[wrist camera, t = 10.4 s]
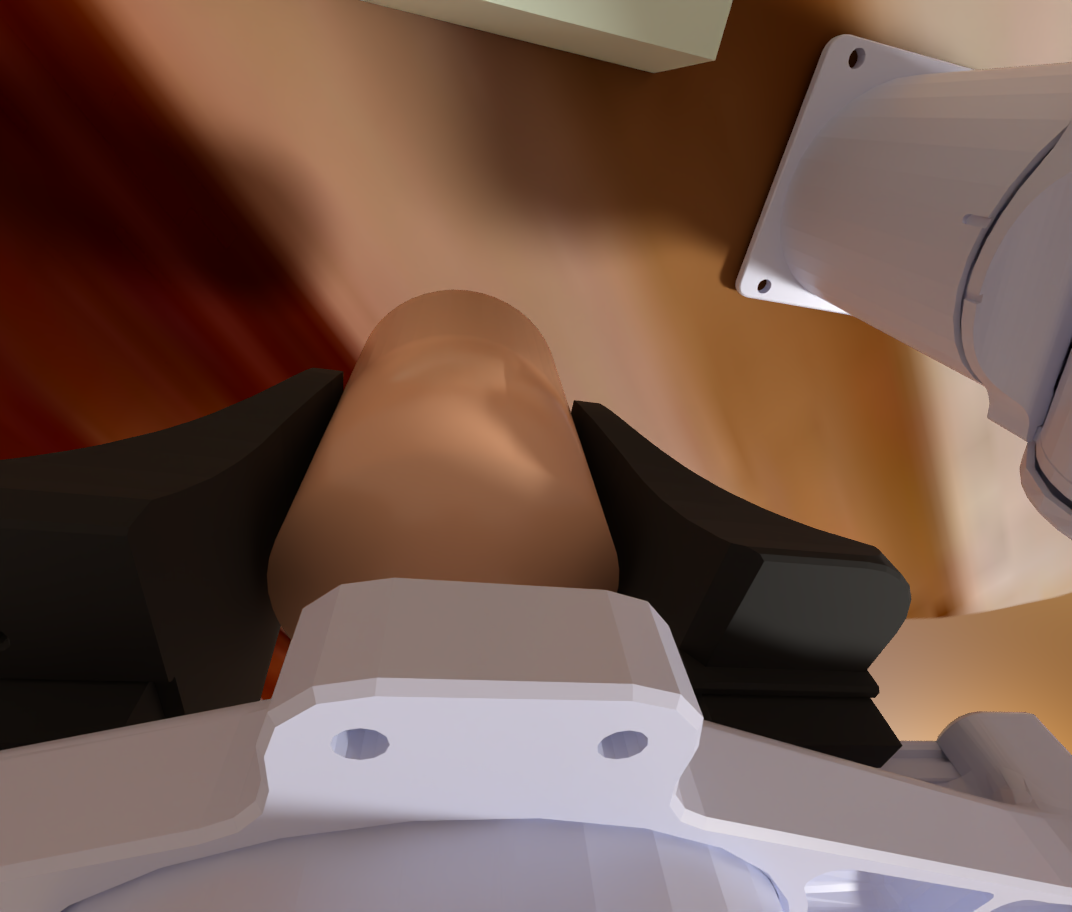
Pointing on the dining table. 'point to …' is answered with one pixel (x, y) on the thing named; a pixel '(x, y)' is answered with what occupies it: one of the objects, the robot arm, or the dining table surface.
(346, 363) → the dining table surface
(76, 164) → the dining table surface
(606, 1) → the tote
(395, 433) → the terracotta capsule
